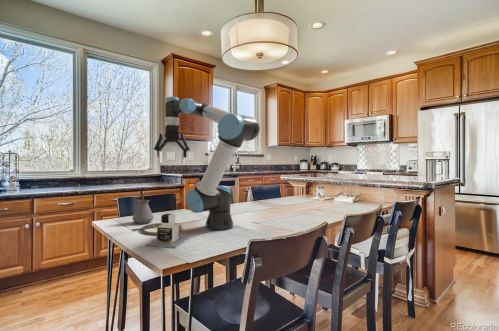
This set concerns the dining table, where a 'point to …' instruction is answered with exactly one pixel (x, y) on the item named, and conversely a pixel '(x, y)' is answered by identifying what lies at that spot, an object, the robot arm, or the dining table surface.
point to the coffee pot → (143, 212)
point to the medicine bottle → (168, 229)
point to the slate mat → (174, 244)
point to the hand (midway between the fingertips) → (171, 163)
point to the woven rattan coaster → (152, 226)
